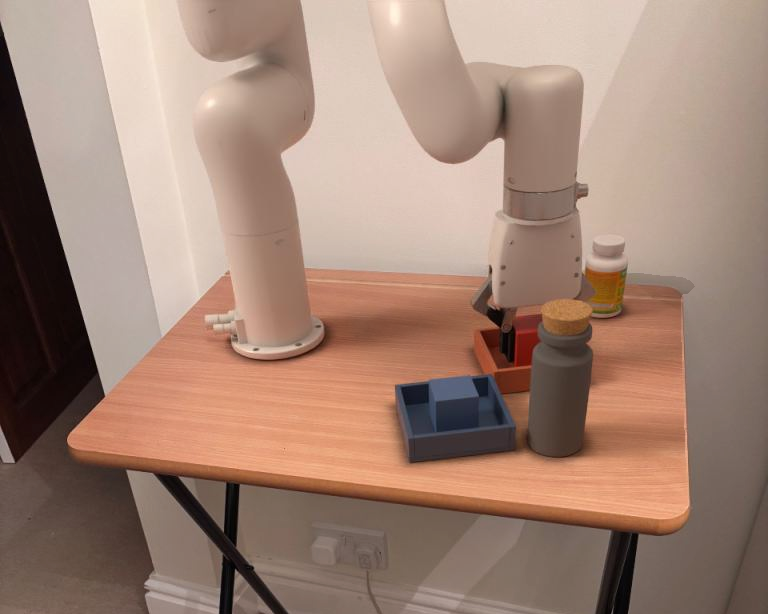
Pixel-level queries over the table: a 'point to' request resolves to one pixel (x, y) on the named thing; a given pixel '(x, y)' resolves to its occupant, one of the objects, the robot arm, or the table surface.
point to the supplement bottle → (607, 275)
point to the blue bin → (429, 445)
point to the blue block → (453, 403)
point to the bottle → (560, 379)
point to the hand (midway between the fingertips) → (529, 353)
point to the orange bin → (499, 362)
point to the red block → (525, 338)
